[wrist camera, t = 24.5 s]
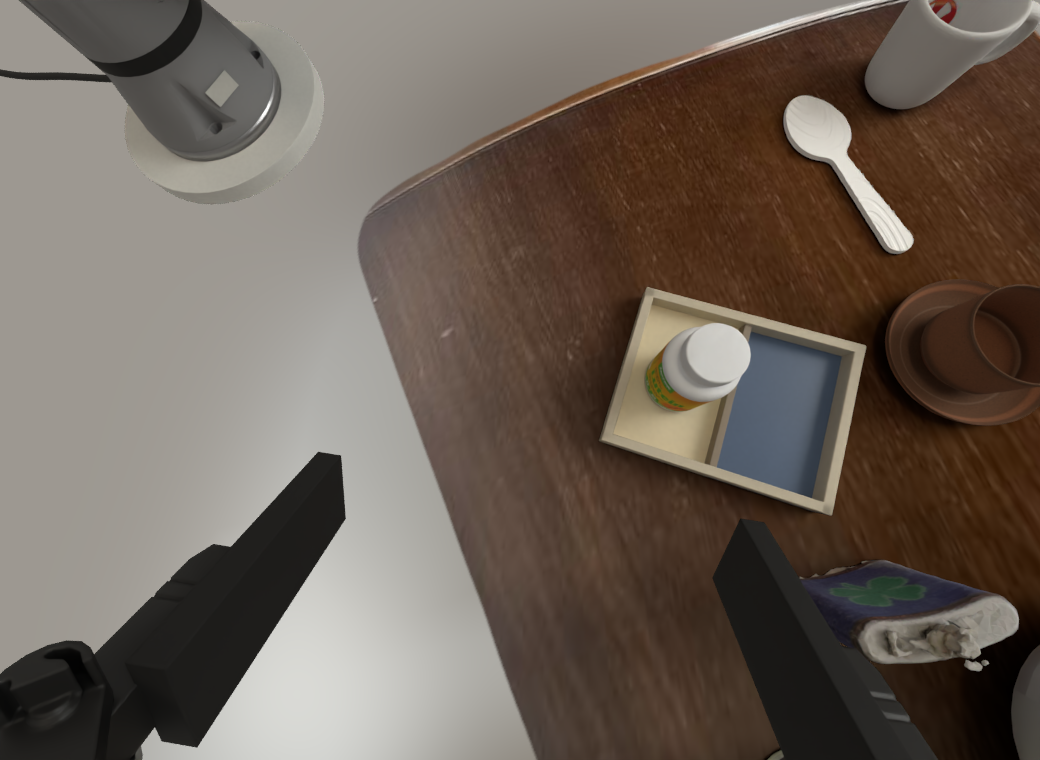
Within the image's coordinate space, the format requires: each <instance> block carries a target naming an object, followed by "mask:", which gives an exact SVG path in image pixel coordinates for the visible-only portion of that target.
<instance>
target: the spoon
mask: <svg viewBox="0 0 1040 760" xmlns="http://www.w3.org/2000/svg"><path fill="white" fill-rule="evenodd" d="M807 96H808V95H806V96H804V95H802V96H799V97H796V98H794V99H793V100H792V101H791V102H790V103H789V104H788V106H787V107H786V109H785V112H784V117H783V121H784V122H783V124H784V129H785V133H786V136H787V138H788V140H789V141H790V143H791V144H792V146H793V147H794V148H795V149H796V150H797V151H798V152H799V153H800V154H802V155H804V156H806V157H808V158H809V159H813V160H817V161H824V162H827V163H829V164H830V165H831V166H832V167H833V169H834V171H835V172H836V173H837V175H838V177H839V178H840V181H841V182H842V183H843V185H844V186H845V188H846V190H847V191H848V193H849V195H850V196H851V198H852V199H853V200H854V202H855V204H856V205H857V207H858V209H859V210H860V212H861V214H862V215H863V217H864V218H865V220H866V222H867V223H868V224H869V226H870V228H871V229H872V231H873V232H874V234H875V236H876V237H877V239H878V241H879V242H880V244H881V245H882V247H883V248H884V249H885V250H886V251H888V252H889V253H892V254H901V253H903V252H905V251H907V250H908V249H909V248H910V247H912V244H913V240H914V239H913V238H912V237H913V236H912V235H911V233H910V230H909V231H908V230H907V228H906V227H904V225H903V224H902V223H901V221H900V219H899V218H897V216H896V214H894V213H895V212H894V211H891V209H890V207H889V205H888V206H887V204H886V203H885V202H884V200H883V198H881V197H880V195H879V194H877V192H876V191H875V190H874V188H873V185H872V186H871V185H870V183H869V181H867V180H866V179H865V177H864V175H863V174H861V172H860V169H859V170H858V169H857V168H856V166H855V165H854V163H853V162H851V160H850V158H849V157H848V156H847V155H848V154H847V148H848V147H849V144H850V141H851V135H852V134H851V133H852V132H851V128H850V127H849V126H850V125H849V124H848V121H846V120H847V119H846V118H845V117H844V114H843V115H842V112H841V113H840V112H839V111H838V110H837V109H835V107H833V106H832V105H831V104H829V103H828V102H827V103H826V102H825V100H824V101H823V100H821V99H819V98H814V97H812V96H811V95H810V96H811V97H810V96H808V97H807Z"/></svg>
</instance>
